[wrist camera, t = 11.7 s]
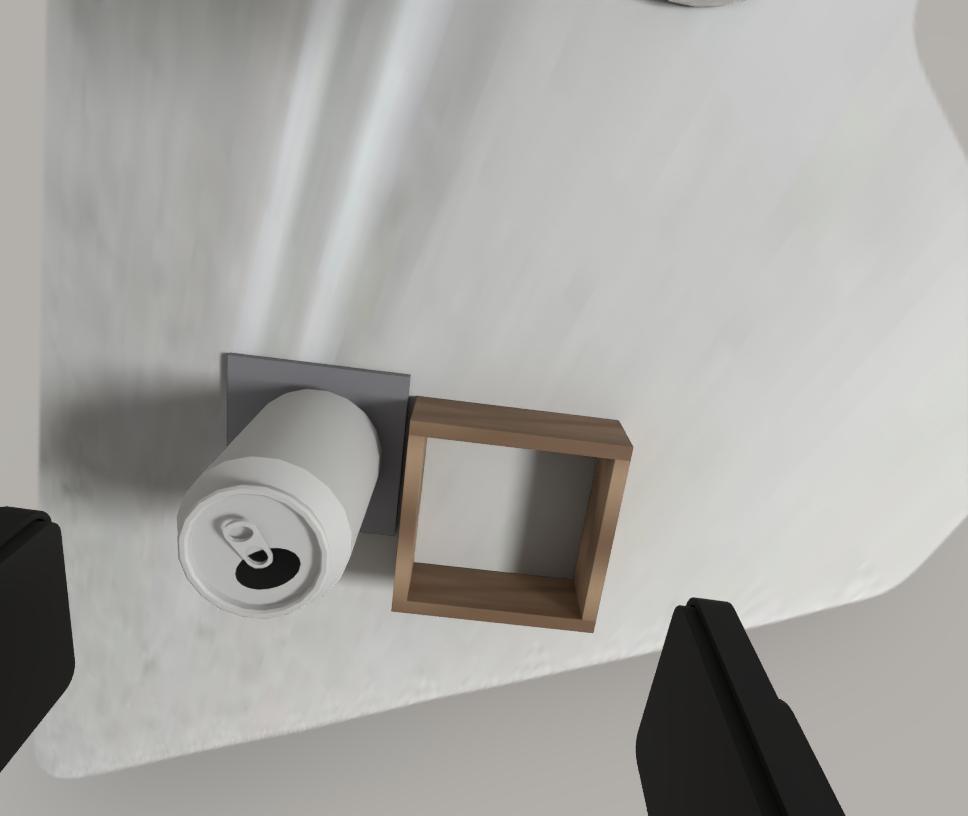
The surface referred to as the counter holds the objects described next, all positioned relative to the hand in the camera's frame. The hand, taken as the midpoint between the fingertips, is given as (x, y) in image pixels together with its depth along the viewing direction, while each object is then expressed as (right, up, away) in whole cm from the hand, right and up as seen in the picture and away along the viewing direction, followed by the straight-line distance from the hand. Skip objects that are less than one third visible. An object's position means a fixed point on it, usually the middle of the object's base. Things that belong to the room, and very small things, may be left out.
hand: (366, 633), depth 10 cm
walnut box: (+3, -2, +30) cm, 31 cm away
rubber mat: (-8, +1, +29) cm, 30 cm away
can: (-8, +1, +29) cm, 30 cm away
